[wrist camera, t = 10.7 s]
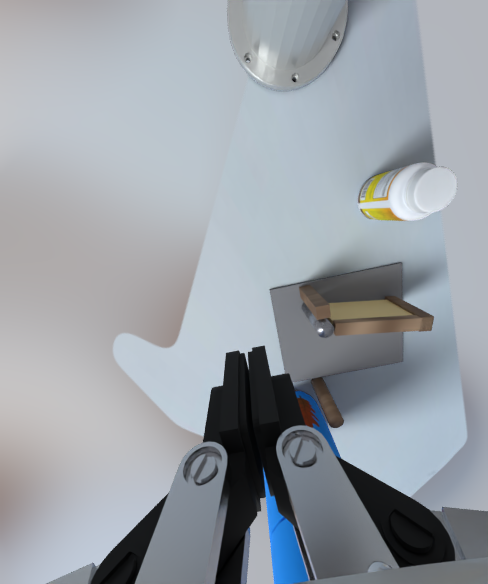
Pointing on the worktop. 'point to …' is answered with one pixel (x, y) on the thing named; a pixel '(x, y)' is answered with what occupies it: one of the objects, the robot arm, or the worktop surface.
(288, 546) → the thermos
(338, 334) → the gate
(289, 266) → the worktop surface
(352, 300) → the gate frame
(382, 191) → the supplement bottle
